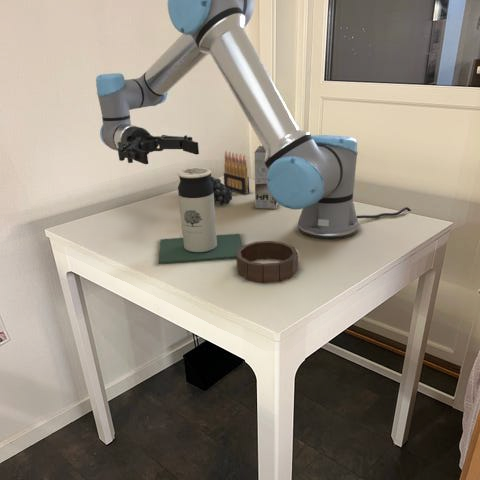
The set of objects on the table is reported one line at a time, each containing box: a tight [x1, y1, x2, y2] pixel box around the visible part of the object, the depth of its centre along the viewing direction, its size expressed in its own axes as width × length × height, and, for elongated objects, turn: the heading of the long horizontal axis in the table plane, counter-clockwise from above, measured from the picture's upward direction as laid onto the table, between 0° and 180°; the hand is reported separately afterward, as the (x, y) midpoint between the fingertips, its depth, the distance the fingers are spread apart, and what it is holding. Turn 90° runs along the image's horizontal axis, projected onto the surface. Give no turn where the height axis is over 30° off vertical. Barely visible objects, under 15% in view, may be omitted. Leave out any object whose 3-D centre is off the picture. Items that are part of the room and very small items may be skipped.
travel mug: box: [177, 167, 217, 252], centre depth 112 cm, size 8×8×18 cm
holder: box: [235, 240, 299, 284], centre depth 105 cm, size 13×13×4 cm
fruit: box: [210, 173, 234, 206], centre depth 146 cm, size 9×8×15 cm
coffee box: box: [254, 145, 279, 210], centre depth 140 cm, size 9×6×16 cm
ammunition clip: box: [223, 150, 251, 195], centre depth 155 cm, size 11×2×12 cm, turn 41°
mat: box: [158, 233, 243, 265], centre depth 117 cm, size 20×14×1 cm
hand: (172, 153), depth 113 cm, fingers open, 13 cm apart
